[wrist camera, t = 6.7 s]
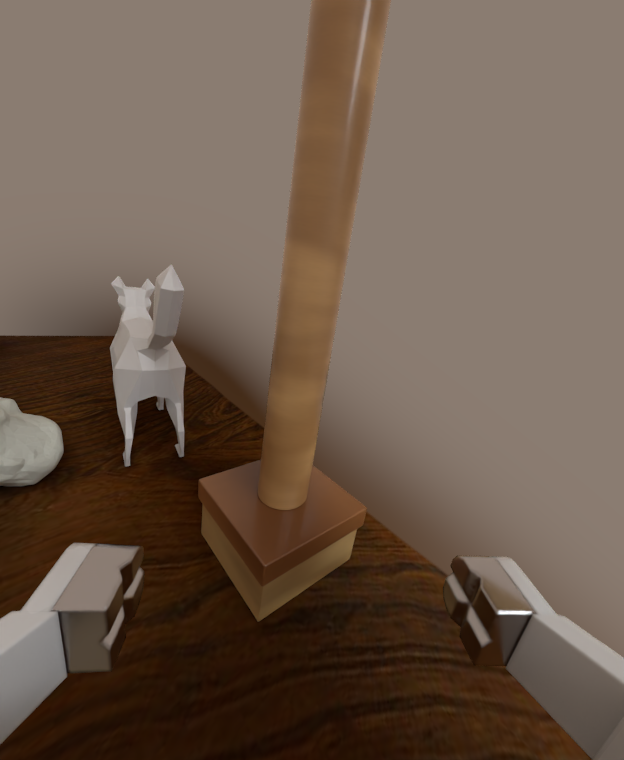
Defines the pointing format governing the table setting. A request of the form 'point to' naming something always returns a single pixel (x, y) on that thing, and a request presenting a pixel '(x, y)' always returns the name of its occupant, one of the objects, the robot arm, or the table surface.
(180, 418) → the cat figurine
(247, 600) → the wooden post stand
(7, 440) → the decorative stone
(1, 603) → the table surface
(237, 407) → the table surface
